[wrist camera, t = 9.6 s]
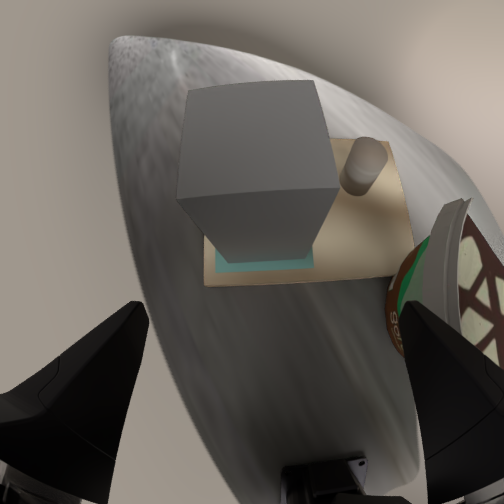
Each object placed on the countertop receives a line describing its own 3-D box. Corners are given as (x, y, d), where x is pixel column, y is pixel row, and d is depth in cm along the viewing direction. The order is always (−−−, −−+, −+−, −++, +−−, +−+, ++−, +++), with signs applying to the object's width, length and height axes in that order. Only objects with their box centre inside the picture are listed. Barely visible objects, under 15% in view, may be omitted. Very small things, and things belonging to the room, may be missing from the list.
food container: (333, 299, 18) (391, 281, 8) (389, 244, 19) (465, 187, 9) (421, 409, 15) (498, 451, 6) (468, 353, 16) (552, 360, 6)
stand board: (411, 274, 18) (448, 260, 13) (207, 287, 19) (184, 275, 14) (384, 147, 20) (404, 111, 15) (210, 151, 21) (195, 112, 16)
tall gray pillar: (305, 258, 17) (340, 187, 8) (228, 263, 18) (175, 199, 8) (297, 189, 19) (313, 80, 9) (227, 193, 19) (188, 90, 9)
